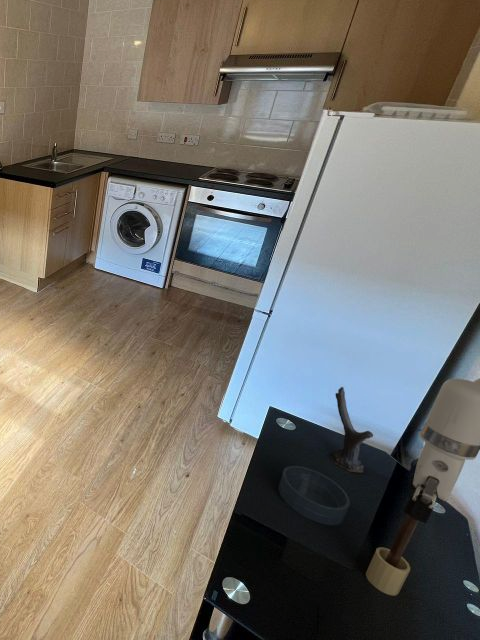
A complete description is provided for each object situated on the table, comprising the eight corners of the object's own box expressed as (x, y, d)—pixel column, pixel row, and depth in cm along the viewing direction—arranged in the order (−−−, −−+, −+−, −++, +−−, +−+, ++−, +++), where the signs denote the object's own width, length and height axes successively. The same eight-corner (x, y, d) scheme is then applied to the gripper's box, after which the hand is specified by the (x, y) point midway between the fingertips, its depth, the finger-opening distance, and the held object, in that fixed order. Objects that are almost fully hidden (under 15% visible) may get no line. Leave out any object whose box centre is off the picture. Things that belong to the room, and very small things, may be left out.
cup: (383, 573, 95) (395, 548, 92) (404, 599, 90) (417, 573, 87) (358, 570, 95) (369, 545, 93) (377, 595, 90) (390, 569, 88)
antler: (364, 466, 126) (392, 398, 118) (361, 479, 121) (389, 410, 113) (317, 444, 134) (340, 380, 127) (312, 456, 129) (336, 390, 122)
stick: (382, 578, 93) (413, 513, 87) (389, 587, 91) (421, 521, 85) (374, 577, 93) (404, 512, 87) (380, 586, 92) (412, 519, 86)
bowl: (318, 484, 119) (324, 468, 117) (357, 530, 105) (364, 512, 103) (267, 479, 120) (272, 463, 118) (298, 523, 107) (304, 505, 105)
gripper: (477, 472, 72) (440, 542, 77) (480, 432, 83) (446, 496, 88) (417, 447, 78) (386, 513, 83) (426, 412, 88) (398, 473, 93)
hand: (417, 504), depth 85 cm, fingers open, 9 cm apart
